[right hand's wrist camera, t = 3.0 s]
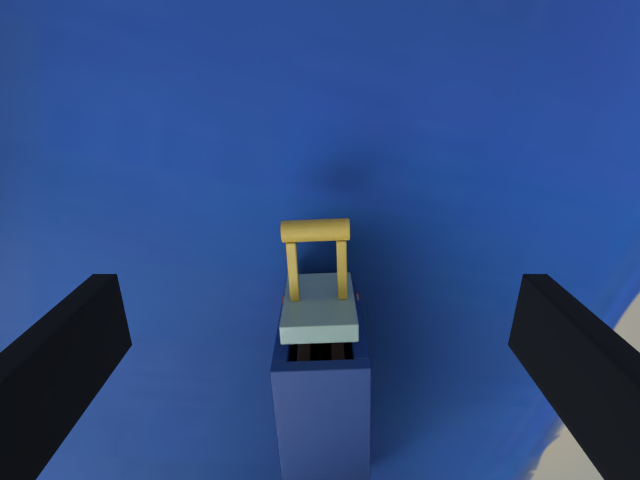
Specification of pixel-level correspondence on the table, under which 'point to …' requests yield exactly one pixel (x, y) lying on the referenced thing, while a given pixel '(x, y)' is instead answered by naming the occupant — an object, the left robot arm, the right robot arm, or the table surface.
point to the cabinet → (323, 411)
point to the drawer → (318, 294)
